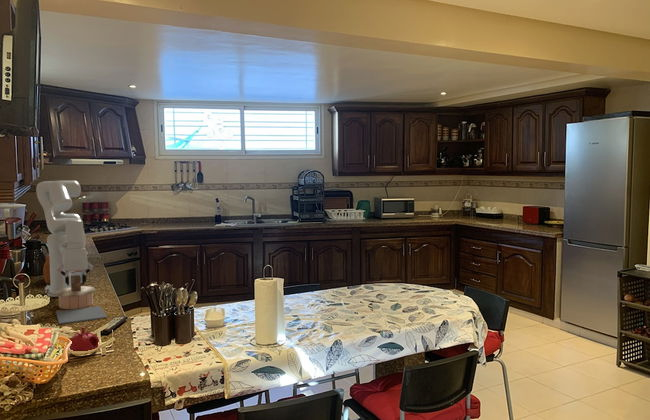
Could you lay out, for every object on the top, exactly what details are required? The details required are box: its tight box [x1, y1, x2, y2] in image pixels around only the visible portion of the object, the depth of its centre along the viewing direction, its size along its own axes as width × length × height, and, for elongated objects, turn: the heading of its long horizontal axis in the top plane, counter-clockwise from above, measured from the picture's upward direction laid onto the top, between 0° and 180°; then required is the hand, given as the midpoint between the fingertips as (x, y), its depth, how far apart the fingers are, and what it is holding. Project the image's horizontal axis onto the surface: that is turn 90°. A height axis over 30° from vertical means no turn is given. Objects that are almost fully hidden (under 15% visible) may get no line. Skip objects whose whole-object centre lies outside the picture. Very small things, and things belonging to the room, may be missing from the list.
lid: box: [57, 274, 96, 296], centre depth 229 cm, size 16×16×8 cm
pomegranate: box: [69, 326, 100, 351], centre depth 167 cm, size 10×10×9 cm
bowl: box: [58, 292, 94, 310], centre depth 229 cm, size 14×14×6 cm
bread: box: [42, 253, 50, 285], centre depth 282 cm, size 18×22×17 cm
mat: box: [55, 305, 108, 325], centre depth 213 cm, size 20×18×1 cm
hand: (75, 283), depth 229 cm, fingers open, 5 cm apart
